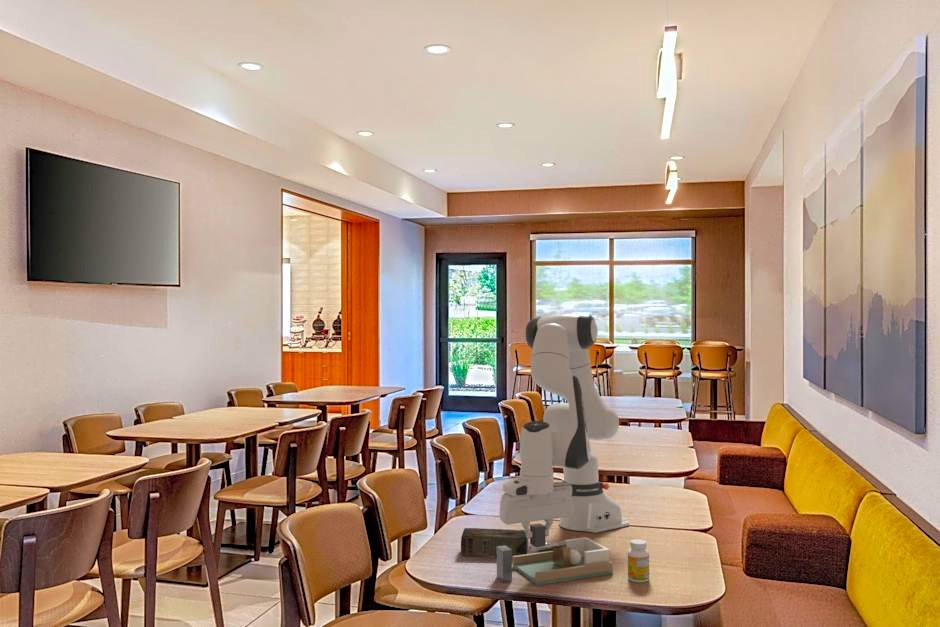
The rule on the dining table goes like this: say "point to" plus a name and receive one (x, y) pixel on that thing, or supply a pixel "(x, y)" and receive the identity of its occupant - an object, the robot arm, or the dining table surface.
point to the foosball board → (547, 571)
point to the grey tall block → (504, 563)
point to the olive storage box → (492, 541)
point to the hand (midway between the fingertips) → (537, 536)
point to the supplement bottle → (638, 561)
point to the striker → (550, 546)
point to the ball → (574, 557)
